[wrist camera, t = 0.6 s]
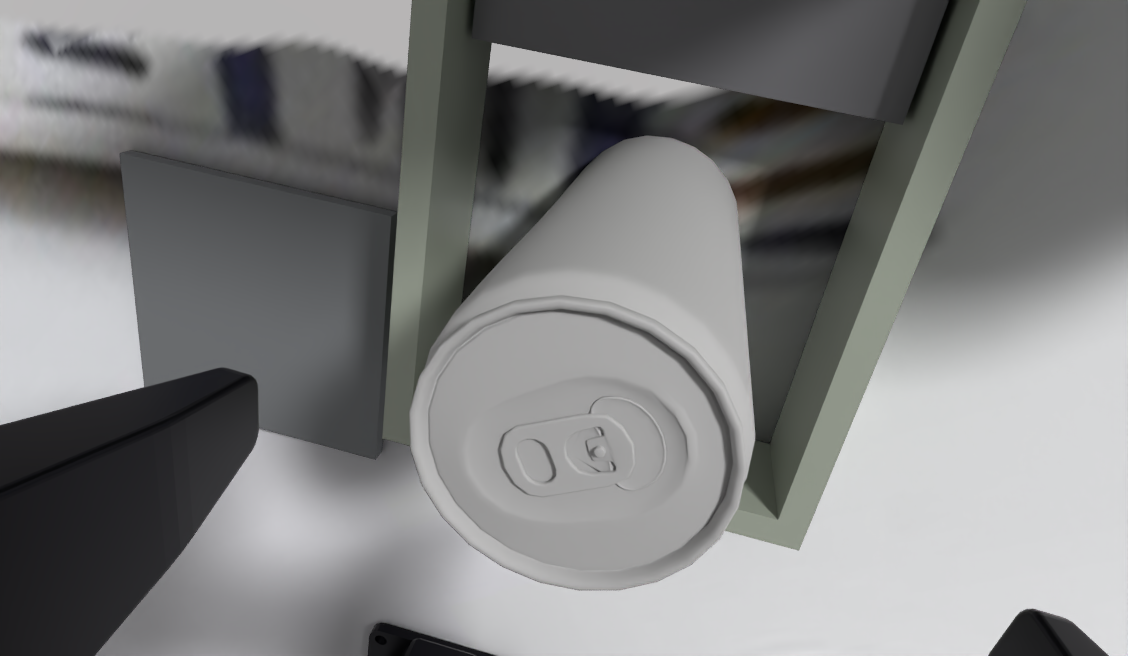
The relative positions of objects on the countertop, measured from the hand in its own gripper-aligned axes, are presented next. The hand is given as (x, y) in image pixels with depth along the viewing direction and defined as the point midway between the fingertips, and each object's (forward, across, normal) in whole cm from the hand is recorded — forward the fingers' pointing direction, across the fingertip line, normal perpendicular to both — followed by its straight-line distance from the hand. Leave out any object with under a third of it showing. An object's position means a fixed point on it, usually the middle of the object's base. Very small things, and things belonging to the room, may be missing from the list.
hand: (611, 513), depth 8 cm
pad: (+13, +12, +7) cm, 19 cm away
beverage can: (+13, +1, +1) cm, 13 cm away
